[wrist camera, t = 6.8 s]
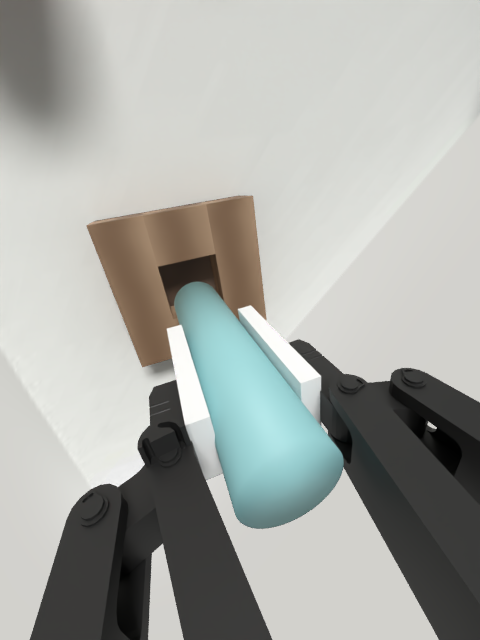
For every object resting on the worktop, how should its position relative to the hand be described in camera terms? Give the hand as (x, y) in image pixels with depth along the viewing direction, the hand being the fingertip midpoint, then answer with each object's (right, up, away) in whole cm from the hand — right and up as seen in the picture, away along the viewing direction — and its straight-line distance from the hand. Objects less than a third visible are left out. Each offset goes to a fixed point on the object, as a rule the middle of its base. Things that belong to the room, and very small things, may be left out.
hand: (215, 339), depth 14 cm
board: (-4, +5, +11) cm, 12 cm away
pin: (-2, +2, +5) cm, 5 cm away
